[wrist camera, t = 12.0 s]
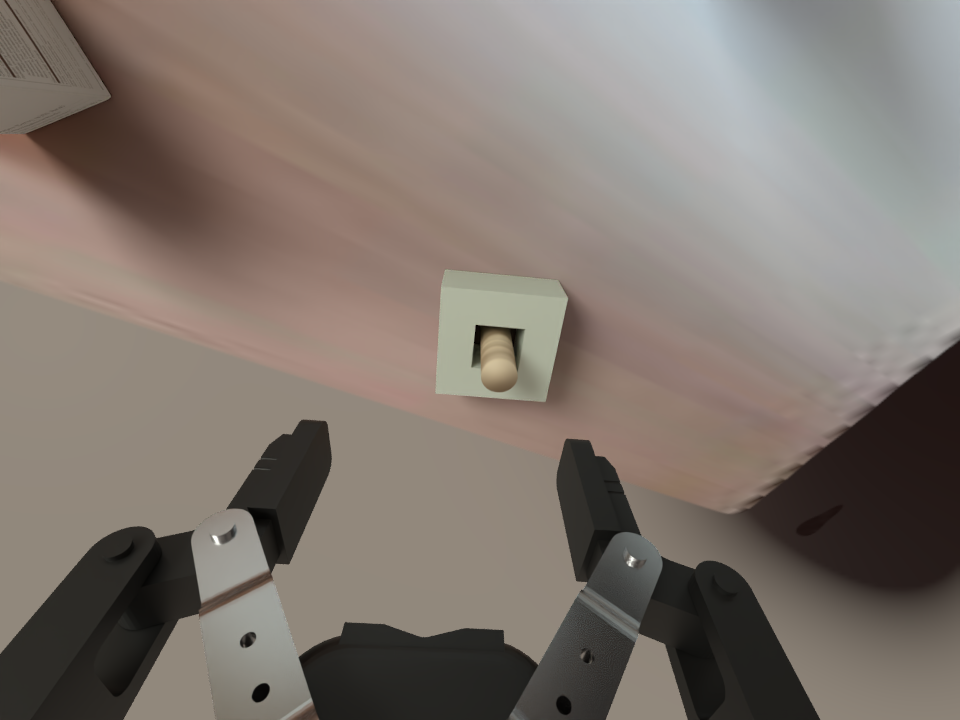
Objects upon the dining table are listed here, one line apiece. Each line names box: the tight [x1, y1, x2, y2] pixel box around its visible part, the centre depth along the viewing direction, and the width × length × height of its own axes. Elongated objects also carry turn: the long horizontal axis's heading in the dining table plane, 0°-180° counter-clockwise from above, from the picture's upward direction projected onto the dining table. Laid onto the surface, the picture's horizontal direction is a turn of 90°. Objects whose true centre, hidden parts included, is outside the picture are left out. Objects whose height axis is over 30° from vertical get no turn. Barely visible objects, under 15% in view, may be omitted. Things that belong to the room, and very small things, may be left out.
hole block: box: [435, 269, 568, 402], centre depth 40 cm, size 11×11×5 cm
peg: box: [480, 325, 518, 392], centre depth 37 cm, size 3×3×10 cm
